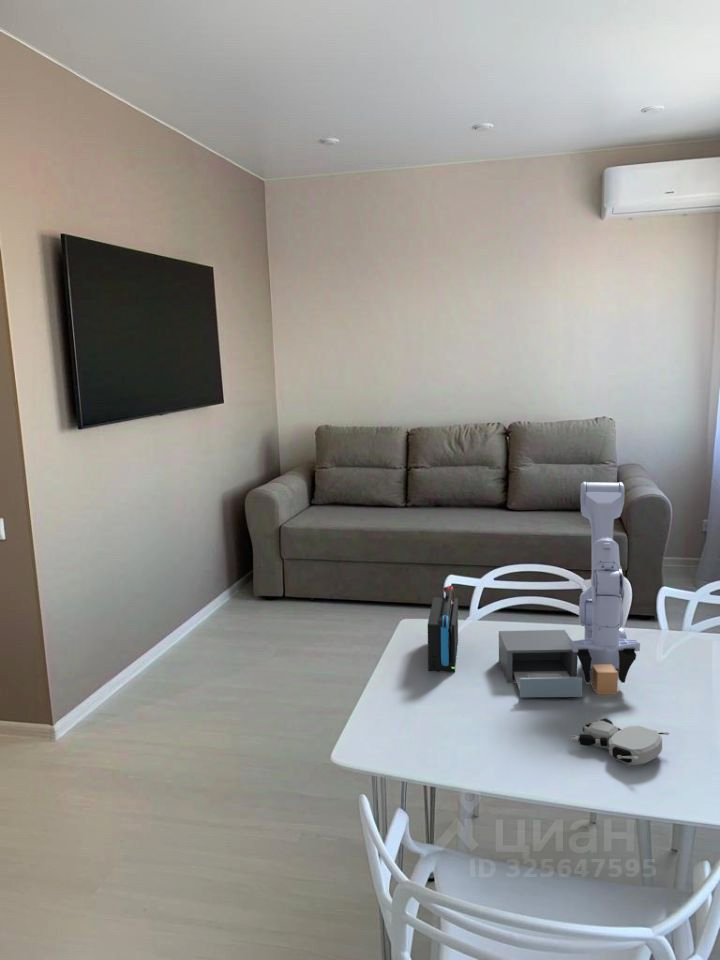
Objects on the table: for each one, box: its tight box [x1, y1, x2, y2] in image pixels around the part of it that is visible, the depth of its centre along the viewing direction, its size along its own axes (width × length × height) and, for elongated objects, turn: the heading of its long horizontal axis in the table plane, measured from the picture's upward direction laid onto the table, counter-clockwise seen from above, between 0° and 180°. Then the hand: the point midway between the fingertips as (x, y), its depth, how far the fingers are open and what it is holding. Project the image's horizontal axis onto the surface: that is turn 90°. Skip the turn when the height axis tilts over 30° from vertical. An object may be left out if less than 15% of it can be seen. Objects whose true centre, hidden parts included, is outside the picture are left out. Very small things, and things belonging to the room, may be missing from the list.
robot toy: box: [570, 718, 670, 766], centre depth 140 cm, size 12×4×15 cm
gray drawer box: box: [498, 629, 579, 684], centre depth 175 cm, size 16×12×8 cm
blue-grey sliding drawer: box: [513, 671, 583, 698], centre depth 166 cm, size 13×12×4 cm
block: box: [591, 664, 619, 695], centre depth 165 cm, size 4×4×5 cm
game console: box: [427, 585, 459, 673], centre depth 185 cm, size 28×6×15 cm, turn 170°
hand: (604, 681), depth 165 cm, fingers open, 7 cm apart
